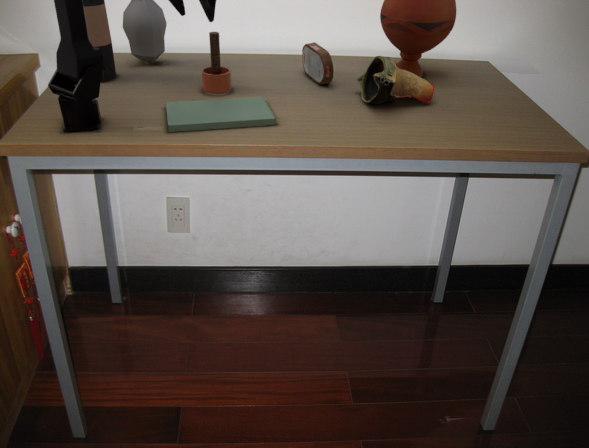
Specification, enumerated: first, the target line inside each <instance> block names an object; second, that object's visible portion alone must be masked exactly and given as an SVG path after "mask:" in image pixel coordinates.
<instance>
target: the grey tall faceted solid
mask: <svg viewBox="0 0 589 448" xmlns="http://www.w3.org/2000/svg"><path fill="white" fill-rule="evenodd" d="M167 24H168V23H167V19H166V17H165V13H164V11H163V8H162V7H161V6H160V5H159V4H158V3H157V2H156V1H155V0H130V1H129V3H128V4H127V6H126V8H125V9H124V10H123V13H122V29H123V31H124V34H125V36H126V38H127V40H128V44H129V48H130V53H131V55H132V56H133V57H135V58H136V59H137V60H139V61H141V62H142V63H146V64H149V65H151V64H152V63H155V61H157V60H158V59H159V57H160V56H161V55H163V54H164V53H165V51H166V46H165V45H166V44H165V35H166V31H167V30H166V29H167Z"/></svg>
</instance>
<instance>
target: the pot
mask: <svg viewBox="0 0 589 448" xmlns="http://www.w3.org/2000/svg"><path fill="white" fill-rule="evenodd" d="M356 81H357V82H358V84H359V85H360V89H361V90H360V93H361V99H362V101H364V102H365V103H370V104H374V105H377V104H381V103H386V102H389V101H390V102H392V101H394V100H395V98H397V99H398V98H405V97H408V98H409V99H411V98H412V97H413V98H415V99H416V100H418V101H420V102H423V103H425V104H426V105H428V104H429V102H431V101H432V99H433V97H434V94H435V86H434V84H433V83H431V82H429V81H428V80H426V79H425V78H422V77H419V76H417V75H415V74H413V73H411V72H408V71H406V70H402V69H399V68H398V67H397V66H396V63H395V61H394V59H393V57H390V56H383V55H377V56H375V57H374V58H373V59H372V61H371V62H370V64H369V65H368V67H367V69H366V71H365V72H364V74H362V75H360V76H359V77H358V78H357V79H356Z"/></svg>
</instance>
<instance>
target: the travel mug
mask: <svg viewBox="0 0 589 448" xmlns="http://www.w3.org/2000/svg"><path fill="white" fill-rule="evenodd" d="M83 6H84V13H85V19H86V26H87V32H88V38H89V41H90V43H91V44H92V46H93V47H97V48H100V49H101V50H102V53H103V64H104V67H105V69H106V70H105V71H104V70H103V80H102V81H101V83H105V82H110V81H113V80H115V79H116V78H117V71H116V63H115V55H114V48H113V41H112V36H111V35H112V34H111V31H110V24H109V18H108V13H107V8H106V7H107V6H106V3H105V0H83Z"/></svg>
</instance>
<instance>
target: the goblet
mask: <svg viewBox="0 0 589 448" xmlns="http://www.w3.org/2000/svg"><path fill="white" fill-rule="evenodd" d="M380 8H381V9H380V16H379V19H380V24H381V28H382V30H383V33H384V35H385V36H386V39H388V41H389V42H390V44H392V46H393V47H395V48H396V49H397V50H398V51H399V56H400V58H401V59H400V60H399V61H398V62H397V63H395V65H396V66H397V67H398V68H399V69H402V70H406V71H408V72H411V73H413V74H415V75H417V76H419V77H421V78H422V77H423V76H424V70H423V68H422V66H421V64H420V62H419V60H420V59H421V58H422V55H423V54H424V53H427V52H429V51H431V50H433V49H435V48H436V47H437V46H438V45H440V44H441V43H443V42H444V40H446V39H447V38H448V36H449V35H450V34H451V32H452V30H453V28H454V26H455V24H456V19H457V1H456V0H383V2H382V5H381V7H380Z"/></svg>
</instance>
